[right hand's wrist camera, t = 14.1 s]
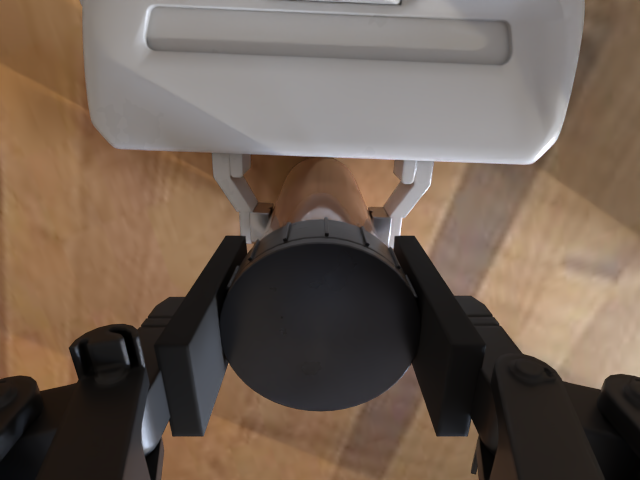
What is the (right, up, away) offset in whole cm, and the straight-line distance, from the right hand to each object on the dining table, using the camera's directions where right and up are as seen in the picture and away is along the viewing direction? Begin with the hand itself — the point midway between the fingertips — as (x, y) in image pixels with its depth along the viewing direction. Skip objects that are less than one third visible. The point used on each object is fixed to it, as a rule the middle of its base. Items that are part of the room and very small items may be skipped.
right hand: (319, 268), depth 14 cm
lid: (0, -2, -4) cm, 4 cm away
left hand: (0, +1, +5) cm, 5 cm away
